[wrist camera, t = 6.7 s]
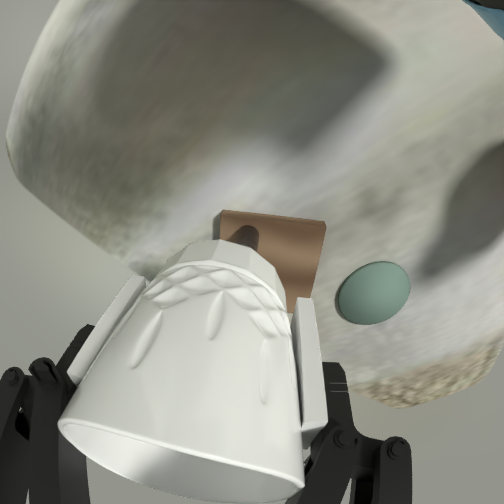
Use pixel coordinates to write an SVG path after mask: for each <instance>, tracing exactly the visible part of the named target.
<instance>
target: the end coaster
mask: <svg viewBox="0 0 504 504" xmlns="http://www.w3.org/2000/svg"><path fill="white" fill-rule="evenodd" d="M409 293H410V281H409V278H408V276H407V274H406V273H405V271H404V270H403V269H402V268H401V267H400V266H398V265H397V264H394V263H391V262H385V261H380V262H373V263H370V264H367V265H365V266H362V267H361V268H359V269H357V270H356V271H354V272H353V273H352V274H351V275H350V276H349V277H348V278H347V279H346V281H345V282H344V283H343V285H342V287H341V289H340V293H339V306H340V310H341V312H342V314H343V315H344V316H345V317H346V318H347V319H348V320H349V321H351V322H353V323H356V324H361V325H371V324H377V323H380V322H383V321H385V320H387V319H389V318H391V317H392V316H394V315H395V314H396V313H397V312H398V311H399V310H400V309H401V308H402V307H403V306H404V304H405V303H406V301H407V299H408V296H409Z"/></svg>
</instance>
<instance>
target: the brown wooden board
mask: <svg viewBox="0 0 504 504" xmlns="http://www.w3.org/2000/svg"><path fill="white" fill-rule="evenodd" d="M244 225H251V226H253V227H255V228H256V229H257V230H258V232H259V243H258V250H257V253H258V254H259V255H260V256H262V257H263V258H264V259H265V260H266V261H268V262H269V263H270V264H271V265H273V266H274V267H275V269H276V272H277V274H278V276H279V279H280V281H281V283H282V285H283V288H284V290H285V296H286V306H287V313H294V309H295V305H296V301H297V297H301V298H310V295H311V291H312V287H313V283H314V279H315V275H316V271H317V267H318V263H319V258H320V254H321V250H322V245H323V241H324V236H325V231H326V225H325V222H324V221H317V220H309V219H301V218H293V217H284V216H276V215H267V214H258V213H249V212H239V211H229V210H223V211H222V213H221V215H220V239H221V240H225V241H229V242H232V243H234V241H235V237H236V234H237V231H238V229H239V228H240V227H242V226H244Z"/></svg>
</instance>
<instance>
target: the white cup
mask: <svg viewBox="0 0 504 504" xmlns="http://www.w3.org/2000/svg"><path fill="white" fill-rule="evenodd" d="M57 425H58V429H59V431H60V432H61V434H62V435H63V436H64V437H65V438H66V439H67V440H68V441H69V442H70V443H72V444H73V445H74V446H75V447H76V448H77V449H78V450H79V451H80V452H81V453H83V454H84V455H86V456H87V457H89V458H90V459H91V460H93V461H95V462H96V463H98V464H100V465H101V466H103V467H105V468H107V469H109V470H111V471H113V472H114V473H116V474H118V475H121V476H123V477H125V478H127V479H130V480H132V481H135V482H137V483H139V484H142V485H145V486H148V487H151V488H153V489H157V490H160V491H164V492H167V493H170V494H174V495H178V496H183V497H187V498H193V499H198V500H204V501H211V502H221V503H237V504H239V503H240V504H247V503H248V504H252V503H267V502H275V501H280V500H285V499H288V498H290V497H292V496H293V495H294V494H296V493H297V492H299V491H301V490H302V489H303V488H304V487H305V477H304V461H303V447H302V434H301V420H300V408H299V395H298V384H297V373H296V364H295V358H294V353H293V342H292V334H291V329H290V324H289V320H288V316H287V306H286V296H285V290H284V288H283V285H282V283H281V281H280V279H279V276H278V274H277V272H276V269H275V267H274V266H273V265H271V264H270V263H269V262H268V261H266V260H265V259H264V258H263V257H262V256H260V255H259V254H258V253H257V252H255V251H254V250H253V249H252V248H249V247H246V246H242V245H239V244H236V243H232V242H229V241H225V240H221V239H218V240H210V241H203V242H195V243H190V244H188V245H187V246H186V247H184V248H183V249H181V250H180V251H178V252H177V253H176V254H174V255H173V256H171V257H170V258H169V259H168V260H167V261H166V263H165V264H164V266H163V267H162V268H161V270H160V271H159V273H158V274H157V275H156V277H155V278H154V280H153V281H151V283H150V284H149V285H148V286H147V287H146V288H145V289H144V290H143V291H142V293H141V294H140V295H139V296H138V298H137V299H136V301H135V302H134V304H133V305H132V307H131V308H130V309H129V310H128V312H127V313H126V314H125V315H124V317H123V318H122V319H121V321H120V322H119V324H118V325H117V326H116V328H115V329H114V331H113V332H112V334H111V335H110V337H109V338H108V340H107V341H106V343H105V344H104V346H103V348H102V349H101V351H100V352H99V354H98V355H97V357H96V359H95V360H94V362H93V363H92V365H91V367H90V368H89V370H88V371H87V373H86V375H85V376H84V378H83V380H82V381H81V383H80V384H79V386H78V388H77V389H76V391H75V393H74V394H73V396H72V398H71V399H70V401H69V403H68V405H67V406H66V408H65V410H64V411H63V413H62V415H61V417H60V419H59V420H58V423H57Z"/></svg>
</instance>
